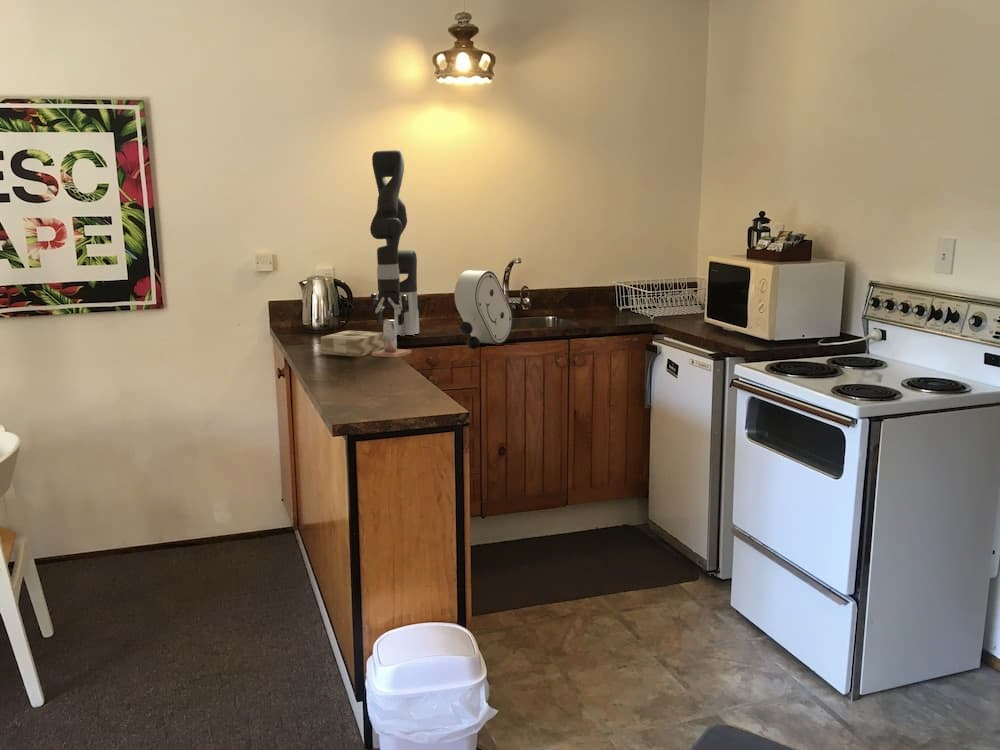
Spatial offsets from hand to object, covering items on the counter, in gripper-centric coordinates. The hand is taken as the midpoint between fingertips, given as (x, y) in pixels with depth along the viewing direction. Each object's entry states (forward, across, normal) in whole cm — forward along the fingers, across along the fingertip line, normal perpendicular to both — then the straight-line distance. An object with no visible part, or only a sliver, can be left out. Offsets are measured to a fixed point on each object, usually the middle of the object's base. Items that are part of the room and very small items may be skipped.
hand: (390, 324), depth 300 cm
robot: (+11, -22, -27) cm, 36 cm away
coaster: (+11, 0, 0) cm, 11 cm away
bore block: (+11, +16, 0) cm, 19 cm away
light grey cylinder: (+10, 0, 0) cm, 10 cm away
